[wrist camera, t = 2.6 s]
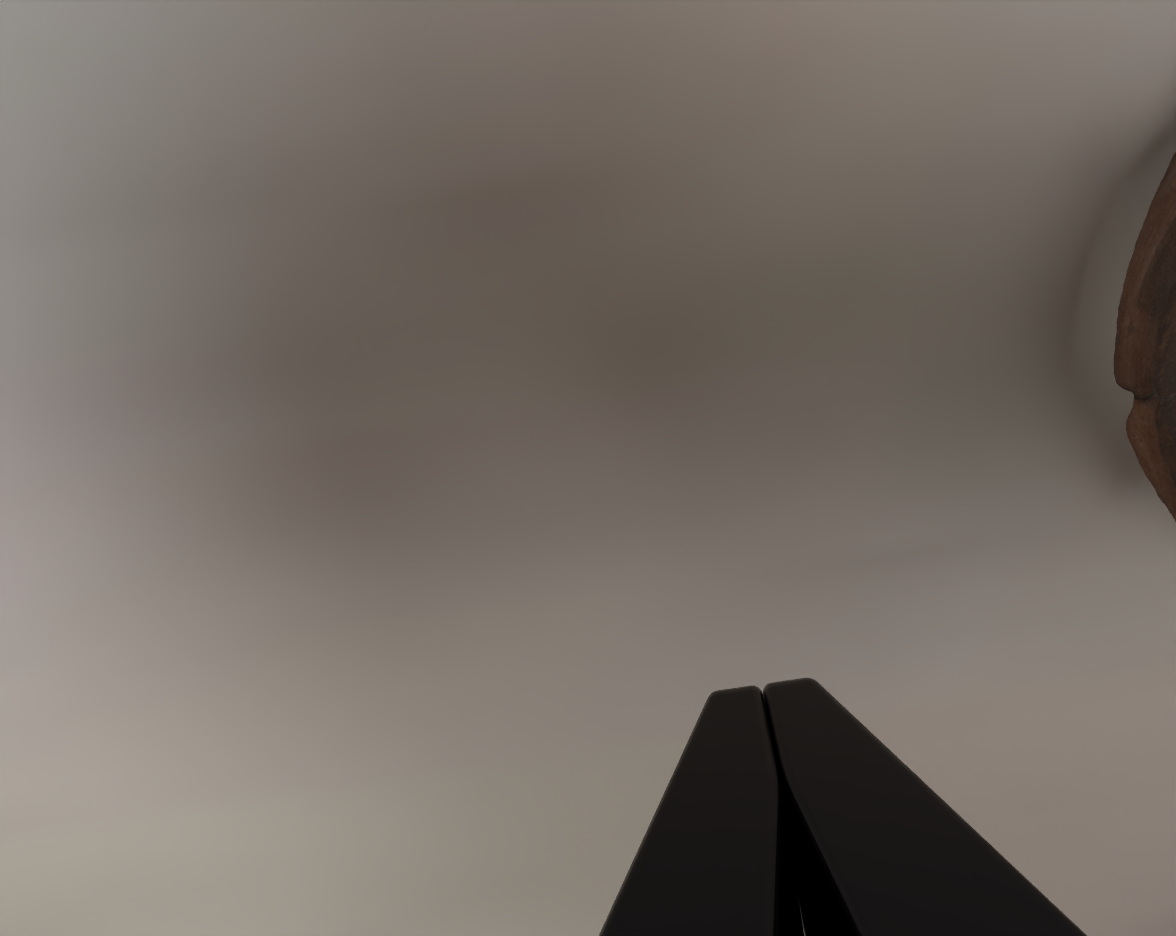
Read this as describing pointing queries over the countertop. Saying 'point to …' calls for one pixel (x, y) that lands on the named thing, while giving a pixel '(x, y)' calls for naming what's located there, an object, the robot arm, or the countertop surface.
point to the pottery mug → (1152, 342)
